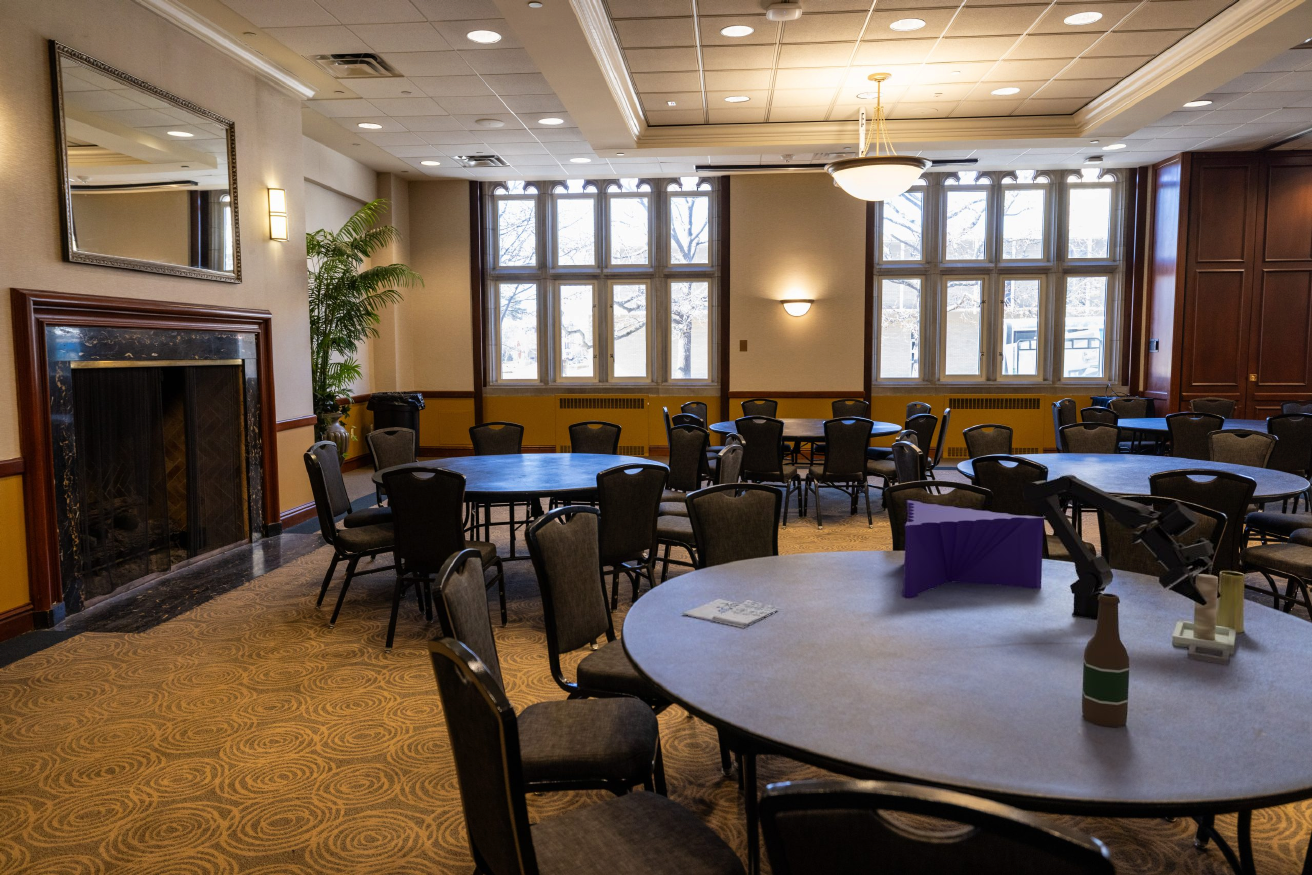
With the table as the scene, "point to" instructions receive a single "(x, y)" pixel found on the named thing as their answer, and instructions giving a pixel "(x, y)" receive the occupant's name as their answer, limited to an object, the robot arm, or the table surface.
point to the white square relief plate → (733, 612)
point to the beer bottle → (1106, 669)
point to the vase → (1231, 600)
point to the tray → (1185, 638)
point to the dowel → (1206, 608)
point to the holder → (1210, 650)
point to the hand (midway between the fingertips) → (1212, 600)
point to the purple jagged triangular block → (970, 548)
